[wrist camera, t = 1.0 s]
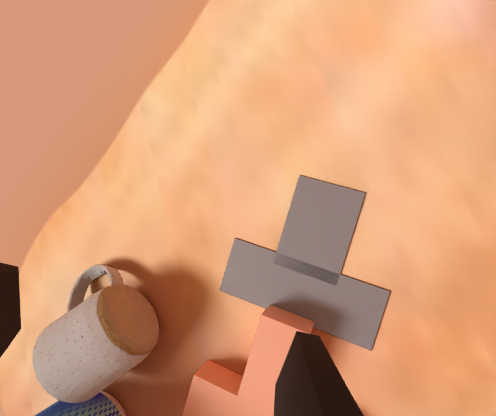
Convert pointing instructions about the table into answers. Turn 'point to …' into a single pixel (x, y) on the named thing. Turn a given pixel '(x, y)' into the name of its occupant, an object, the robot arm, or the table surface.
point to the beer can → (86, 407)
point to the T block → (248, 372)
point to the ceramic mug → (95, 338)
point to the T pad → (311, 266)
